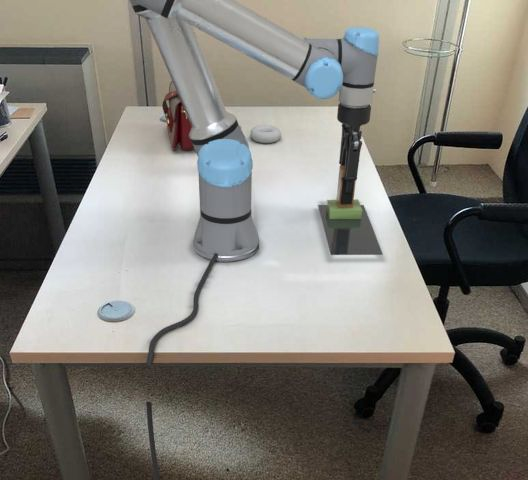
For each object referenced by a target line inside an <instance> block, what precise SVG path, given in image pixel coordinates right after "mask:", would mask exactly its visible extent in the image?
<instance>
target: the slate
mask: <svg viewBox="0 0 528 480" xmlns="http://www.w3.org/2000/svg"><path fill="white" fill-rule="evenodd" d="M326 205H327V204H317V208H318V211H319V215H320V219H321V223H322V226H323V231H324V234H325V239H326V242H327V245H328V251H329V253H330V256H383V255H384V254H383V251H382V249H381V246H380V243H379V240H378V238H377V235H376V233H375V230H374V227H373V225H372V223H371V220H370V217H369V214H368V212H367V210H366V207H365V205H364V204H360V206H361V208H362V216H361V219H329V216H328V213H327V210H326Z"/></svg>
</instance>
